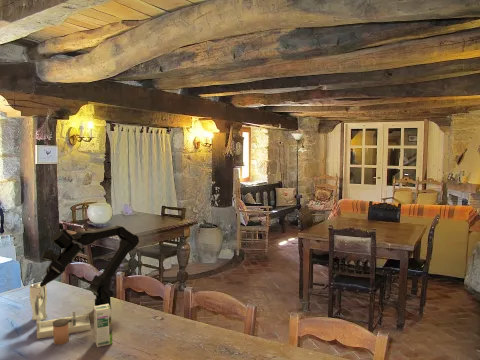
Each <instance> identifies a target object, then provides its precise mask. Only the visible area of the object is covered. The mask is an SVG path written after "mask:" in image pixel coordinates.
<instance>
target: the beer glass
mask: <svg viewBox="0 0 480 360" xmlns="http://www.w3.org/2000/svg"><path fill="white" fill-rule="evenodd" d="M40 284H41V282H39V283H34V284H31V285H30V286H29V302H30V305H31V309H32V317H31V320H32V321H33V322H37V316H38V315H40V318H41V321H46V319H48V314H47V301H48V289H47V284H46V285H44V286H42V287H41V286H40Z"/></svg>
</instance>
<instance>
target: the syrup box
mask: <svg viewBox="0 0 480 360" xmlns="http://www.w3.org/2000/svg"><path fill="white" fill-rule="evenodd" d="M92 310H93V324H94V326H93V327H94V342H95V344H96V347H97V348H100V347H104V346H108V345H113V329H112V326H113V325H112V307H111V308H110V305H109V304H104V305H99V306H95V305H93V309H92Z"/></svg>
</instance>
